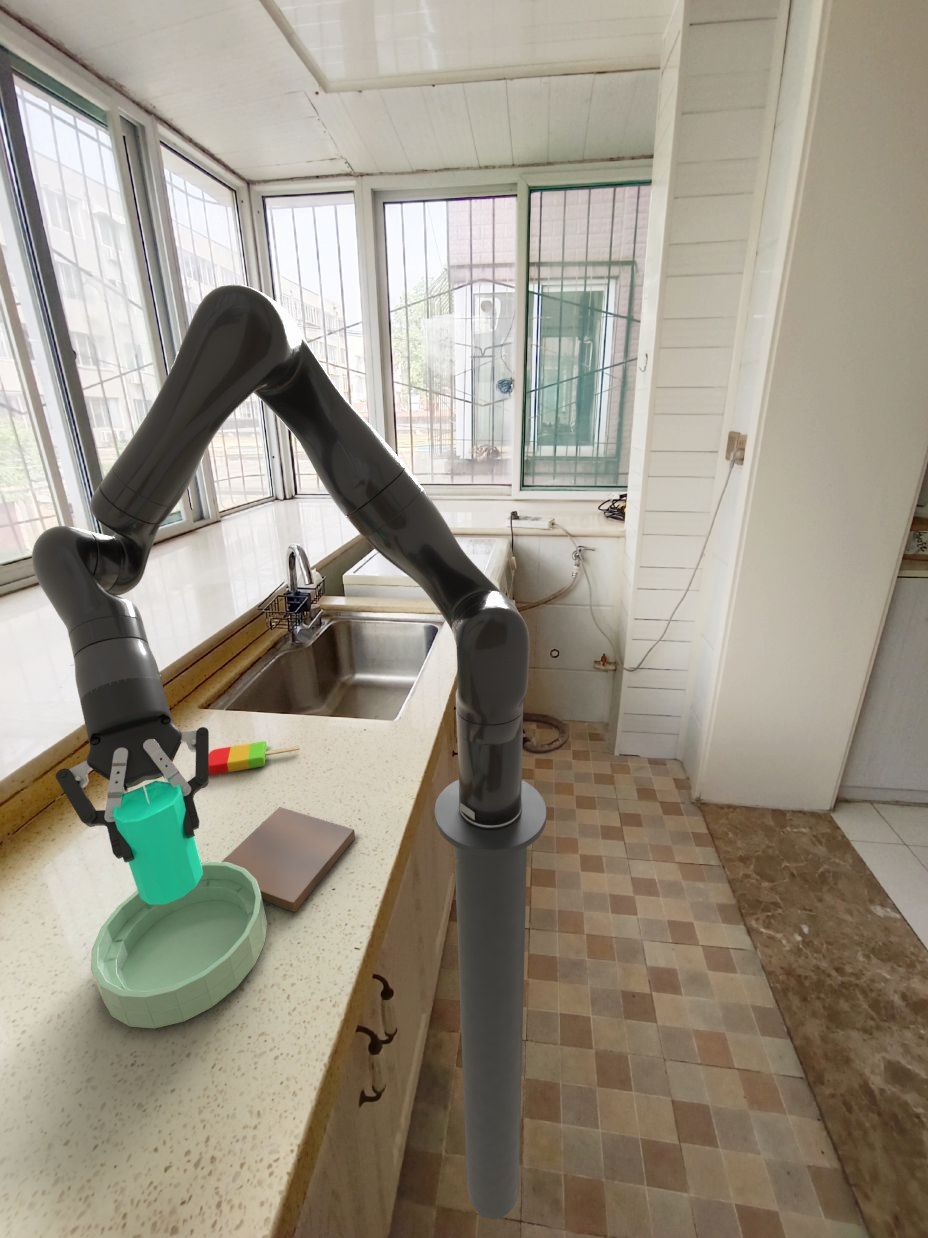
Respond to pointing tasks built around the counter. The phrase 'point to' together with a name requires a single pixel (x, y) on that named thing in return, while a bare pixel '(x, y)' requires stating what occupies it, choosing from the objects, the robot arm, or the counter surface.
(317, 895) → the counter surface
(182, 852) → the candle
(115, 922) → the bowl
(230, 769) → the popsicle
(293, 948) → the counter surface
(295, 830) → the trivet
